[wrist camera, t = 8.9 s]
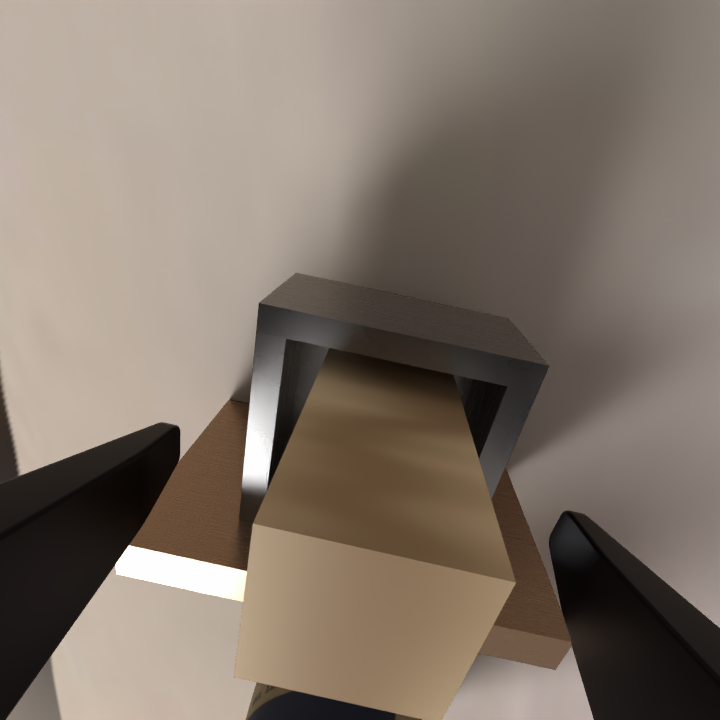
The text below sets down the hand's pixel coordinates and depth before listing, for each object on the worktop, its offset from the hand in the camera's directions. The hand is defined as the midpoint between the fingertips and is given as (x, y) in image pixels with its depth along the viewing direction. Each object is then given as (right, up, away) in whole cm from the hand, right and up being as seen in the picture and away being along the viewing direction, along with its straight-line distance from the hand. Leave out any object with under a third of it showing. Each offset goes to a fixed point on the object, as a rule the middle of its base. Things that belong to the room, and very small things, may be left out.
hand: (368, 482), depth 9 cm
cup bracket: (0, 0, +8) cm, 8 cm away
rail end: (0, +1, +3) cm, 4 cm away
